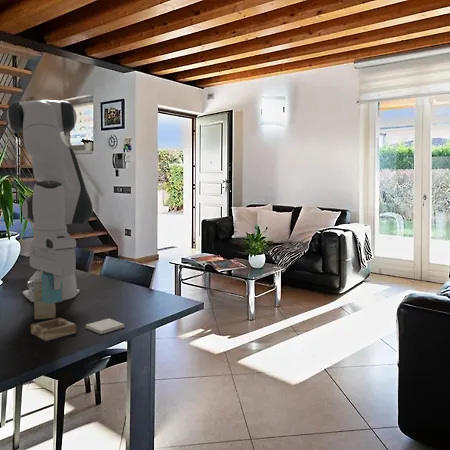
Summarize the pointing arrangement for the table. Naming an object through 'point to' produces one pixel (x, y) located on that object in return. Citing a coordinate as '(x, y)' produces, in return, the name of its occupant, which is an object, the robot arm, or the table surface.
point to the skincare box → (42, 303)
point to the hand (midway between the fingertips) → (51, 287)
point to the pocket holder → (53, 329)
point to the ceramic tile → (104, 326)
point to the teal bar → (50, 289)
